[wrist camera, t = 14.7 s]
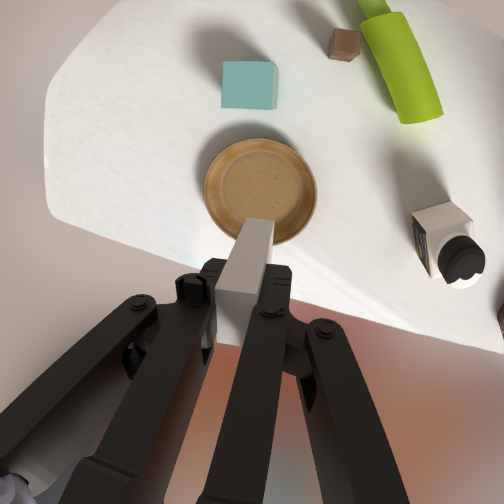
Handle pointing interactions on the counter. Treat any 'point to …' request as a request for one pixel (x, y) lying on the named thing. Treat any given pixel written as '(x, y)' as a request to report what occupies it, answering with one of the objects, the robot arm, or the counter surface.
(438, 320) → the counter surface
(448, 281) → the medicine bottle
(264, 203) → the plant saucer
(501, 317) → the cupcake
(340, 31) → the post walnut
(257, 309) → the robot arm
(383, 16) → the soap dispenser
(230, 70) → the teal foam cube
